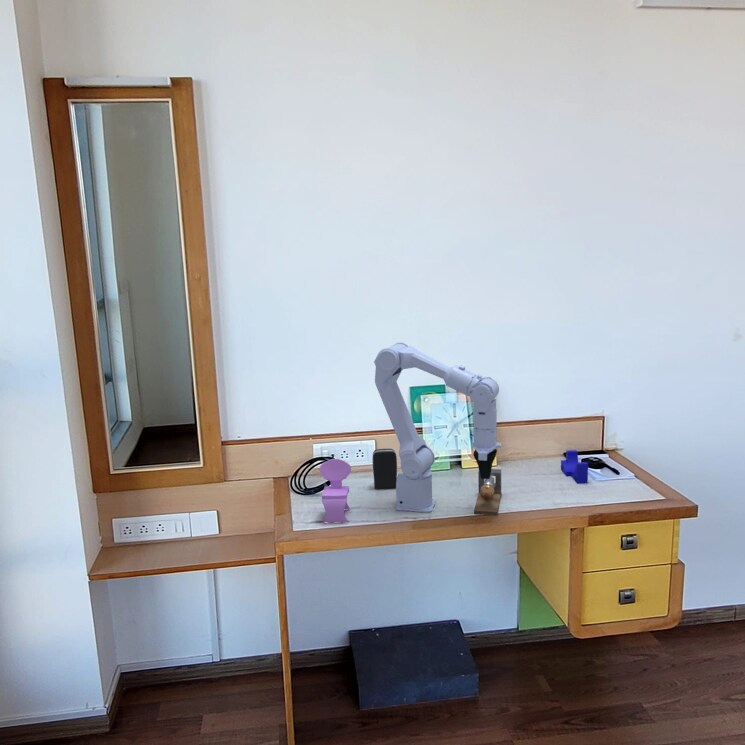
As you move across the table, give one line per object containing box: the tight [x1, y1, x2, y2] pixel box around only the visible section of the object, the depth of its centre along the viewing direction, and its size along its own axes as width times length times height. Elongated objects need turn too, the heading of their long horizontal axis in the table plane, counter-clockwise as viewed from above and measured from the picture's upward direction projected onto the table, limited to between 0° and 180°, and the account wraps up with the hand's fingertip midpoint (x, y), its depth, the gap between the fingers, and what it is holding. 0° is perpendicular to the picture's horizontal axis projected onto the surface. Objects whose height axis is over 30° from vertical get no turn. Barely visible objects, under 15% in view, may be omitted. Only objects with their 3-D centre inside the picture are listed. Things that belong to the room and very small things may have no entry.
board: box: [473, 492, 502, 516], centre depth 188 cm, size 15×6×1 cm, turn 166°
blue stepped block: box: [560, 449, 589, 485], centre depth 204 cm, size 12×4×6 cm, turn 0°
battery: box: [371, 448, 398, 490], centre depth 201 cm, size 7×4×11 cm, turn 93°
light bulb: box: [480, 476, 495, 500], centre depth 188 cm, size 10×4×4 cm, turn 166°
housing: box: [477, 468, 502, 495], centre depth 193 cm, size 3×6×6 cm, turn 76°
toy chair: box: [318, 458, 352, 523], centre depth 182 cm, size 8×9×15 cm
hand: (485, 478), depth 178 cm, fingers closed
